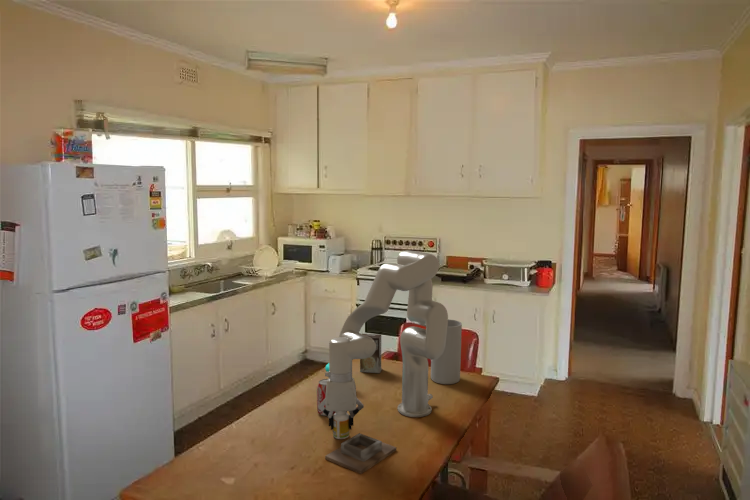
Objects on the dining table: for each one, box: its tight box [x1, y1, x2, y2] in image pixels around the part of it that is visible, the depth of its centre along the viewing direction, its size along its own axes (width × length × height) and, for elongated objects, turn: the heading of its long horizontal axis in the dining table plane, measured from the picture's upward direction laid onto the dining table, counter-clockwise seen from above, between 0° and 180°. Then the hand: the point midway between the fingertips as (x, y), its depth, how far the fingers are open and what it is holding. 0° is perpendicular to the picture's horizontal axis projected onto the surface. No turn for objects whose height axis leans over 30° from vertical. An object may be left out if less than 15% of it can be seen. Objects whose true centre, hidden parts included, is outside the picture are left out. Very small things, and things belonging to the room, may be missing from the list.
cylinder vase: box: [430, 318, 463, 385], centre depth 234 cm, size 12×12×25 cm
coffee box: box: [359, 333, 382, 374], centre depth 245 cm, size 9×6×16 cm
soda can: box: [316, 378, 335, 417], centre depth 200 cm, size 7×7×12 cm
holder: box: [324, 432, 397, 475], centre depth 171 cm, size 18×14×4 cm
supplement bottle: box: [332, 411, 350, 440], centre depth 182 cm, size 5×5×10 cm
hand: (341, 427), depth 182 cm, fingers closed on supplement bottle, 5 cm apart
